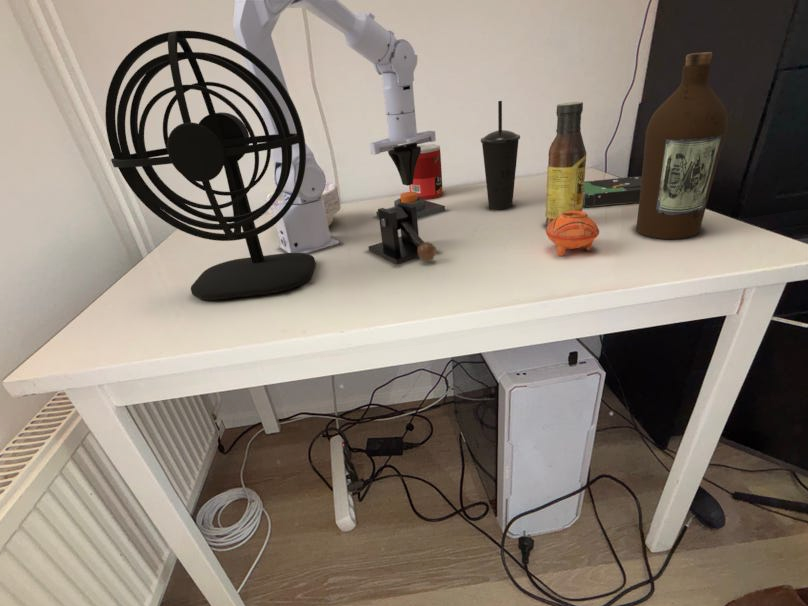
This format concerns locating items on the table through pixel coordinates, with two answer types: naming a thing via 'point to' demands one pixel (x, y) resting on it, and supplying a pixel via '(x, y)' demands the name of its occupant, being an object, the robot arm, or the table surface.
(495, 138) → the drinking cup
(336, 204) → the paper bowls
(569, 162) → the sauce bottle
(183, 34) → the desk fan
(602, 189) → the disk drive
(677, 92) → the brown liquor bottle
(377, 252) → the bracket
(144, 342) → the table surface
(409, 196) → the button
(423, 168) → the canned food
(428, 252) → the lever
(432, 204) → the control block
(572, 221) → the pot
